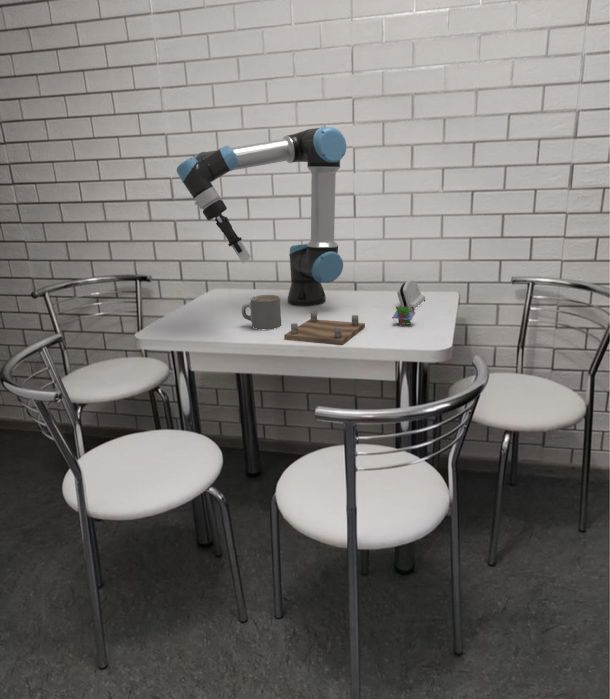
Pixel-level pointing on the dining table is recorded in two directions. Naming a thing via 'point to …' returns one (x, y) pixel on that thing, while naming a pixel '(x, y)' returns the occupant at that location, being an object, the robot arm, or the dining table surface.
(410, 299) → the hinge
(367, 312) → the dining table surface
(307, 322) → the standoff board
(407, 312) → the geometric puzzle
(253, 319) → the coffee mug
